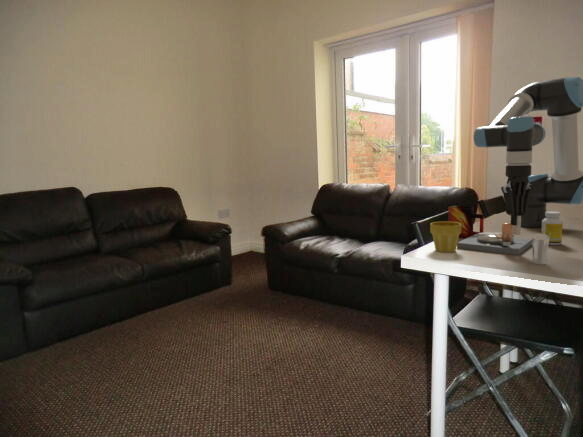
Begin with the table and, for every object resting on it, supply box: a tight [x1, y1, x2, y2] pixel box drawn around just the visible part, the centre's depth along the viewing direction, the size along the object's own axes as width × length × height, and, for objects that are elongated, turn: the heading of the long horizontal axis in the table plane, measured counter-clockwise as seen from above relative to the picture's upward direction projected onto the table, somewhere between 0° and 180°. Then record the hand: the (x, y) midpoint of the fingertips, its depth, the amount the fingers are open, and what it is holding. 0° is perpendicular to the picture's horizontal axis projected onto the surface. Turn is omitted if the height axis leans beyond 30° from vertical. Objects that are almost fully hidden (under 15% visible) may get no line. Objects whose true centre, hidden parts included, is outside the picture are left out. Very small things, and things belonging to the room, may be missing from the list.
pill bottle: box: [540, 211, 563, 246], centre depth 155 cm, size 6×6×12 cm
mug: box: [447, 205, 485, 239], centre depth 173 cm, size 10×14×12 cm
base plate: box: [456, 234, 533, 256], centre depth 154 cm, size 20×20×2 cm
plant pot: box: [429, 220, 461, 254], centre depth 149 cm, size 10×10×10 cm
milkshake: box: [531, 233, 551, 266], centre depth 128 cm, size 5×5×10 cm
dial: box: [477, 222, 515, 246], centre depth 150 cm, size 18×12×8 cm
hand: (515, 234), depth 144 cm, fingers closed
